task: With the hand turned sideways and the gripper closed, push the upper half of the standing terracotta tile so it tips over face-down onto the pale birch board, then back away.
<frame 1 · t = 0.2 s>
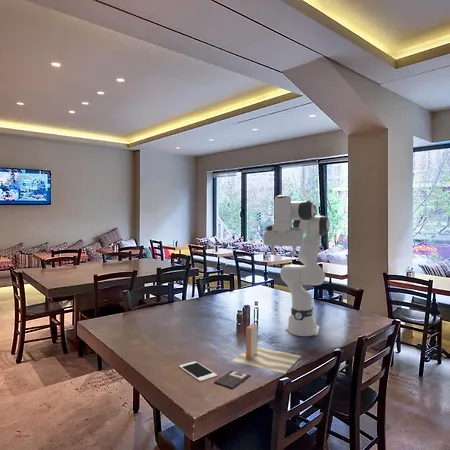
hand: (283, 254, 181), 48 cm above the table, tool pointing down, fingers open, 8 cm apart
board: (266, 359, 171), on the table
cell phone: (197, 372, 158), on the table
tile: (251, 354, 175), point 1 cm above the table, touching board
chocolate bar: (235, 379, 152), on the table
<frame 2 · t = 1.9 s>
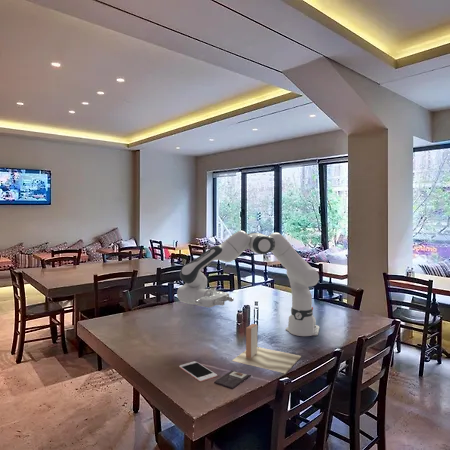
hand: (228, 301, 180), 25 cm above the table, tool horizontal, fingers open, 8 cm apart
nothing on the table moved.
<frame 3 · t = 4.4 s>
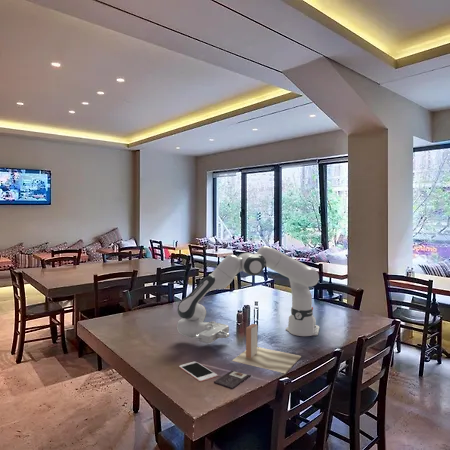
hand: (228, 335, 181), 8 cm above the table, tool horizontal, fingers closed
nothing on the table moved.
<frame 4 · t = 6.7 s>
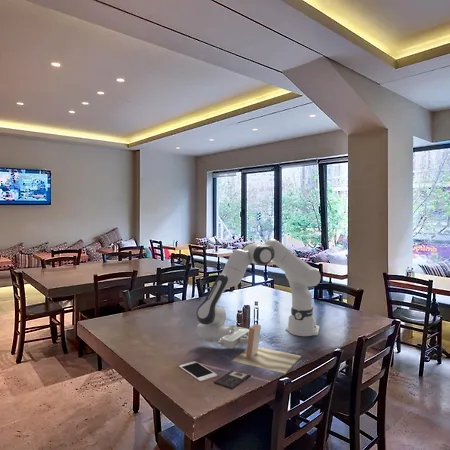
hand: (250, 340, 175), 7 cm above the table, tool horizontal, fingers closed
tile: (251, 354, 175), point 1 cm above the table, tilted 7°, touching board, gripper
everything else where it was.
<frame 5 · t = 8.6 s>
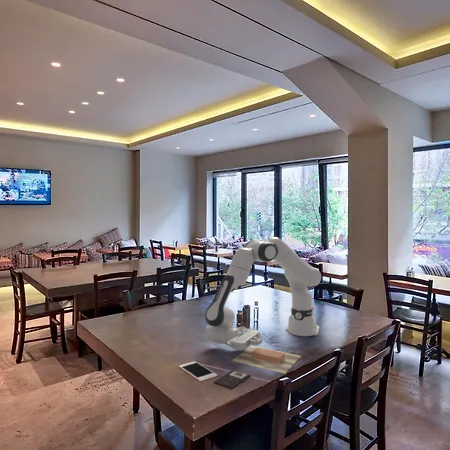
hand: (260, 342, 172), 8 cm above the table, tool horizontal, fingers closed
tile: (254, 352, 174), point 2 cm above the table, tilted 90°, touching board
everything else where it was.
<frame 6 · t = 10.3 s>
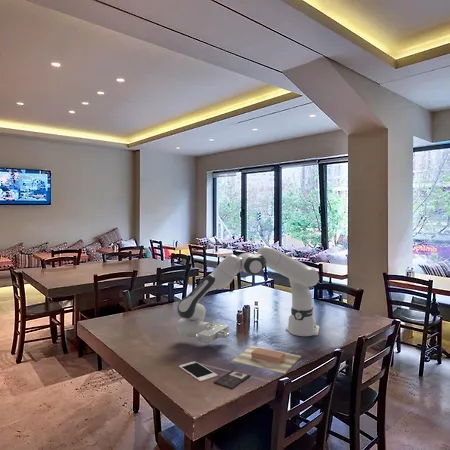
hand: (227, 335, 181), 8 cm above the table, tool horizontal, fingers closed
nothing on the table moved.
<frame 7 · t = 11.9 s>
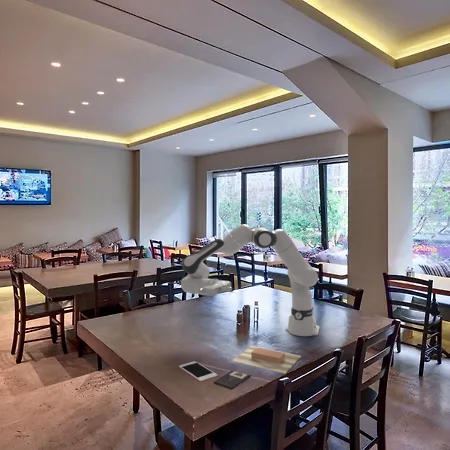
hand: (230, 289, 188), 29 cm above the table, tool horizontal, fingers closed
nothing on the table moved.
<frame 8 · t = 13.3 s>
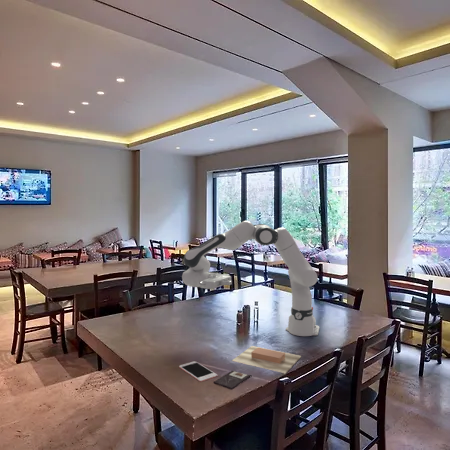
hand: (230, 283, 191), 32 cm above the table, tool horizontal, fingers closed
nothing on the table moved.
at the end: tile tilted 90°; tile touching board; tile inside the target area (3.9 cm from its centre), point 2.1 cm above the table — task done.
